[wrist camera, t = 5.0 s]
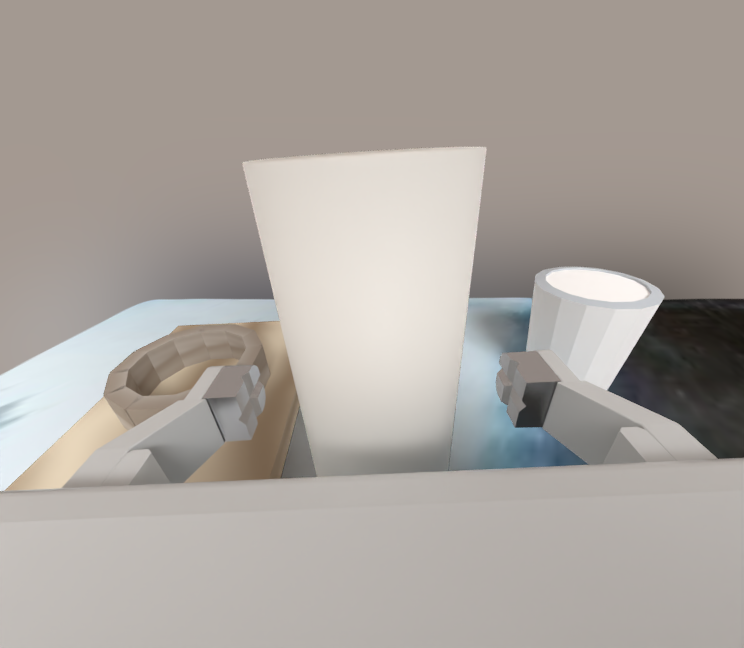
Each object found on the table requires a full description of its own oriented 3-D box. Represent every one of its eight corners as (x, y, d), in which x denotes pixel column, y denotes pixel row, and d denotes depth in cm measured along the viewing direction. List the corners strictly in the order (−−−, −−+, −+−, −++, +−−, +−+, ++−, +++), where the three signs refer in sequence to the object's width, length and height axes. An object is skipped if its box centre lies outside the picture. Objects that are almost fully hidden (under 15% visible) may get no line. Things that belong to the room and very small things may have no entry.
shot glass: (522, 394, 21) (547, 302, 17) (510, 340, 27) (526, 262, 23) (641, 410, 19) (694, 311, 16) (601, 348, 25) (633, 266, 22)
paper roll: (430, 463, 17) (452, 145, 9) (453, 581, 12) (536, 148, 5) (335, 468, 17) (277, 156, 9) (323, 586, 12) (192, 170, 5)
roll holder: (318, 332, 29) (312, 294, 27) (263, 544, 14) (239, 491, 12) (184, 339, 29) (168, 301, 27) (-22, 555, 14) (-93, 505, 12)
